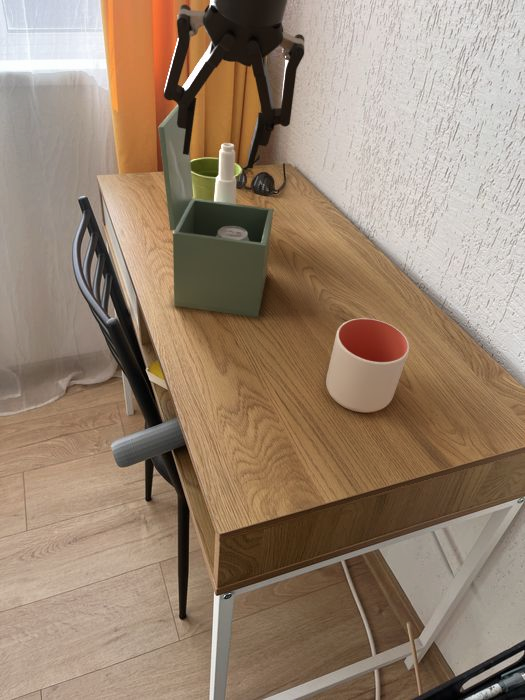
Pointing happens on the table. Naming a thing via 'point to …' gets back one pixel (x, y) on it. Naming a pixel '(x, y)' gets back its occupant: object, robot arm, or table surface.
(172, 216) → the lid
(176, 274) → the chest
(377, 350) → the cup
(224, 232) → the beverage can
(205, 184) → the plant pot
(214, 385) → the table surface
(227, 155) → the cosmetic bottle
